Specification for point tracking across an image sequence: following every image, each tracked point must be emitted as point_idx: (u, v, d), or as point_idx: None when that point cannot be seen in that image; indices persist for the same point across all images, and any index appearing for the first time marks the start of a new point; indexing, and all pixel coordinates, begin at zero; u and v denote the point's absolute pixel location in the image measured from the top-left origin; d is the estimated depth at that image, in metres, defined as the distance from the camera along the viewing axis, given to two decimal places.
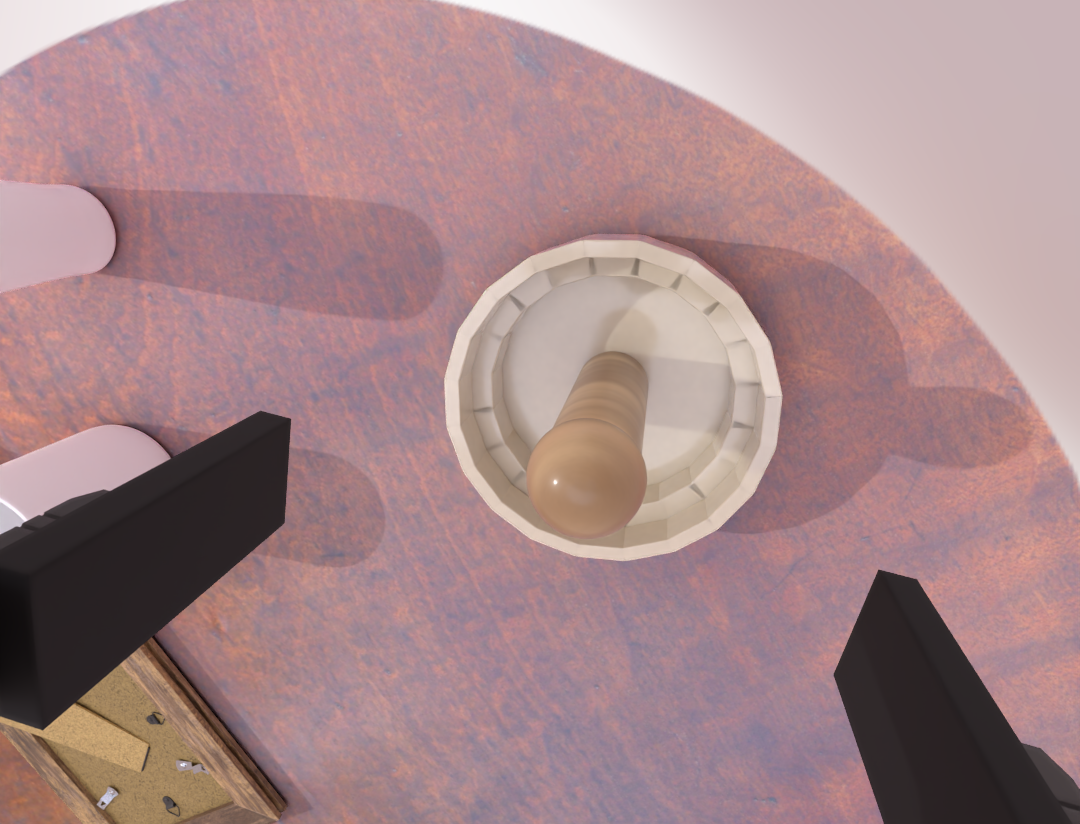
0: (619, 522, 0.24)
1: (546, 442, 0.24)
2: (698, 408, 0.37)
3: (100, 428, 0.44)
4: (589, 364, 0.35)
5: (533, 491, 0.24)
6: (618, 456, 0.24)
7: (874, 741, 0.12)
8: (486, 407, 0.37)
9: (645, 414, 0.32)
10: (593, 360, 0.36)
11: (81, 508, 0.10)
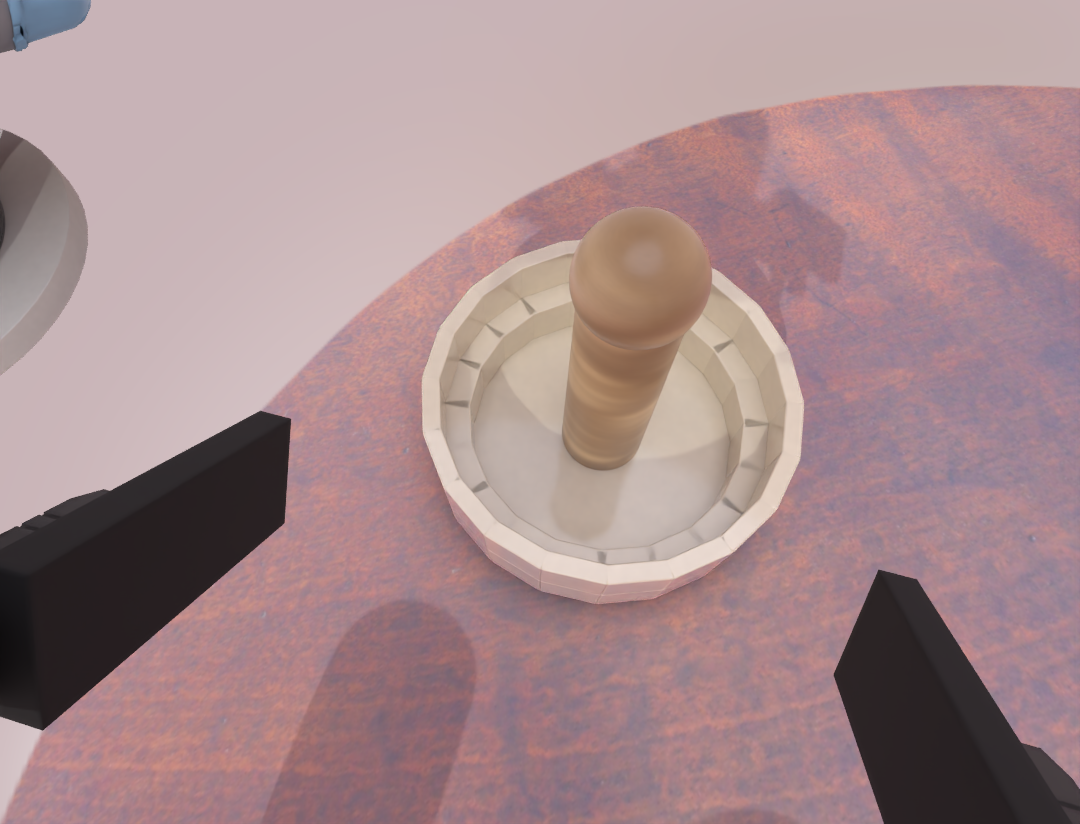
0: (684, 220, 0.21)
1: (583, 292, 0.21)
2: None
3: None
4: (566, 433, 0.32)
5: (638, 298, 0.20)
6: (606, 216, 0.21)
7: (874, 741, 0.12)
8: (598, 557, 0.28)
9: None
10: (564, 434, 0.32)
11: (81, 508, 0.10)
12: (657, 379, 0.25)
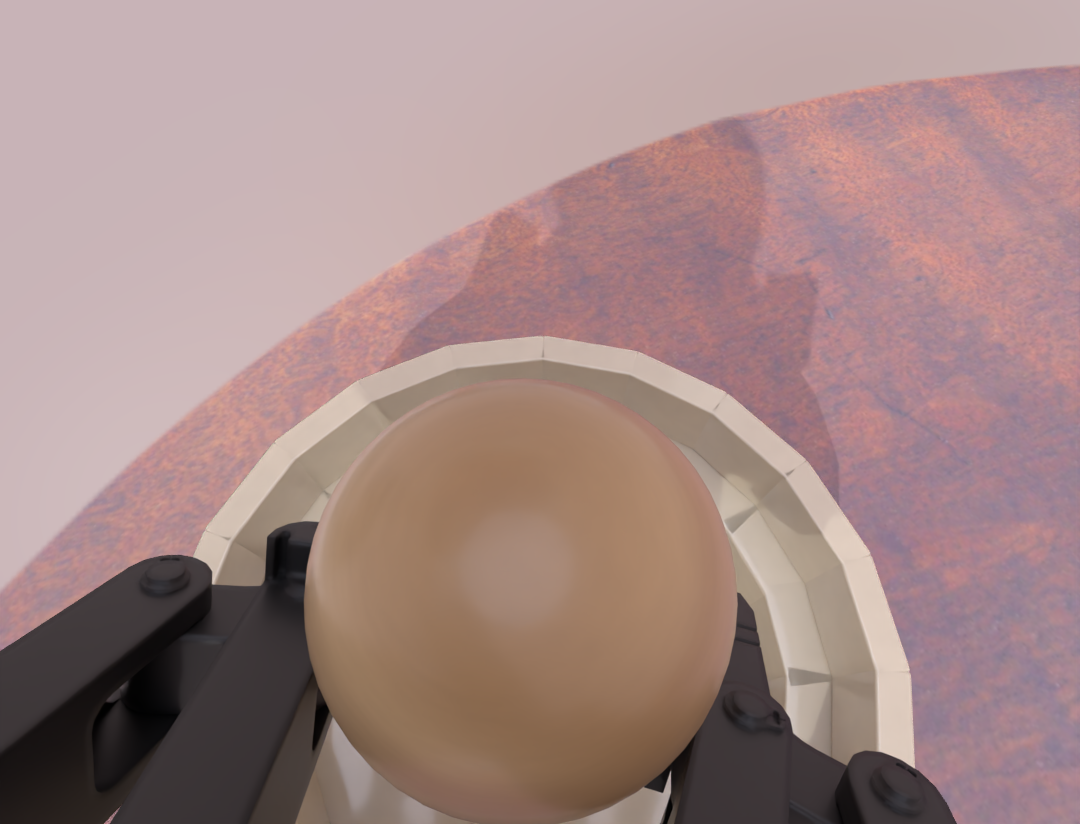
0: (645, 431, 0.07)
1: (320, 684, 0.06)
2: None
3: None
4: None
5: (479, 769, 0.05)
6: (407, 414, 0.07)
7: None
8: None
9: None
10: None
11: None
12: None
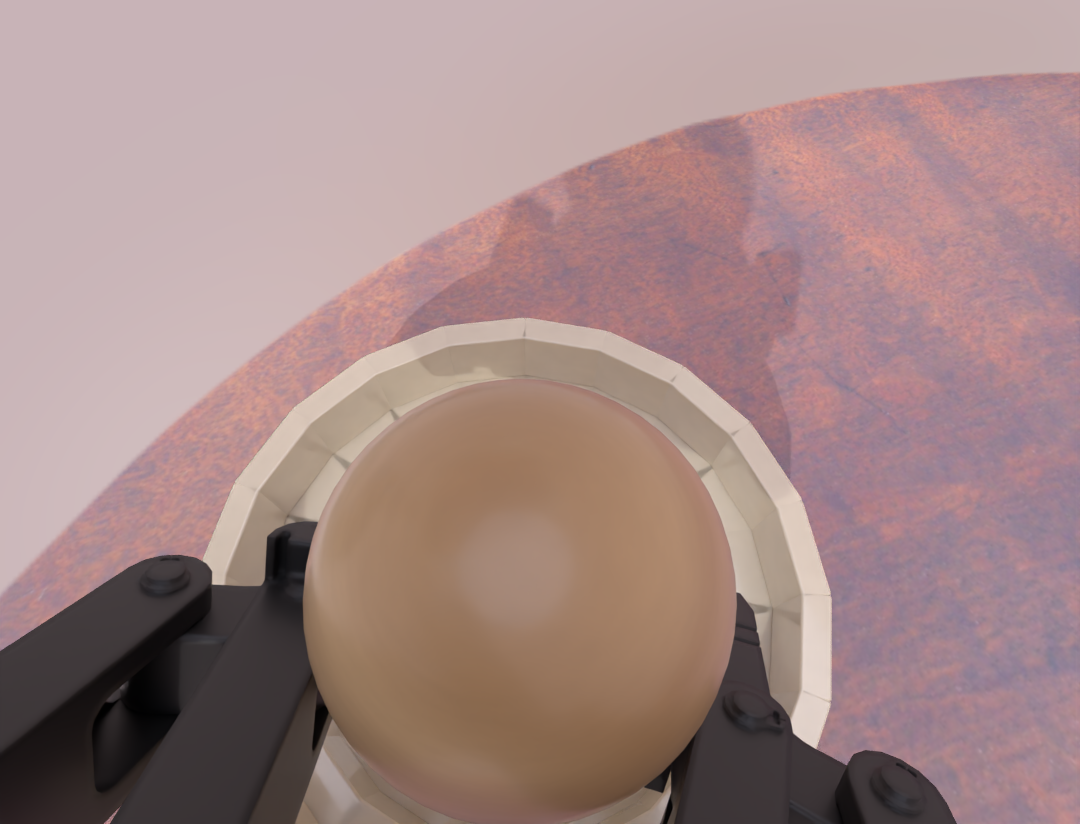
0: (644, 432, 0.07)
1: (319, 685, 0.06)
2: None
3: None
4: None
5: (477, 770, 0.05)
6: (406, 415, 0.07)
7: None
8: None
9: None
10: None
11: None
12: None
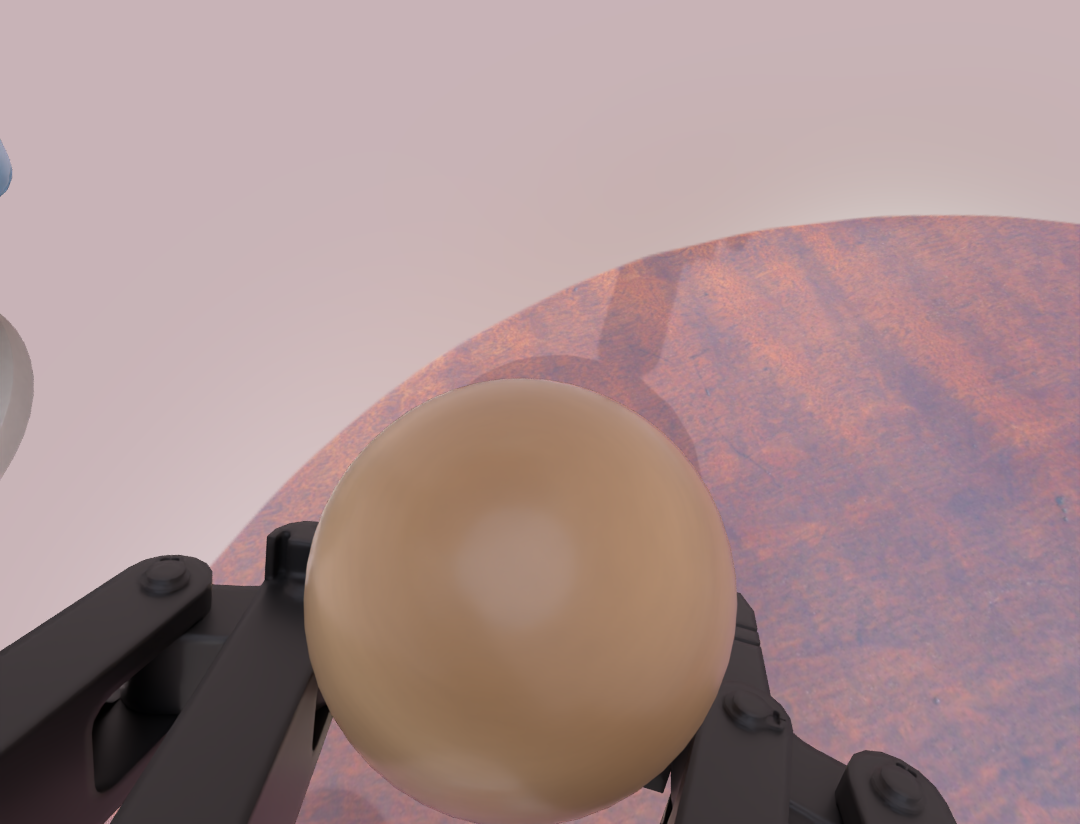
0: (645, 431, 0.07)
1: (319, 684, 0.06)
2: None
3: None
4: None
5: (478, 769, 0.05)
6: (406, 414, 0.07)
7: None
8: None
9: None
10: None
11: None
12: None
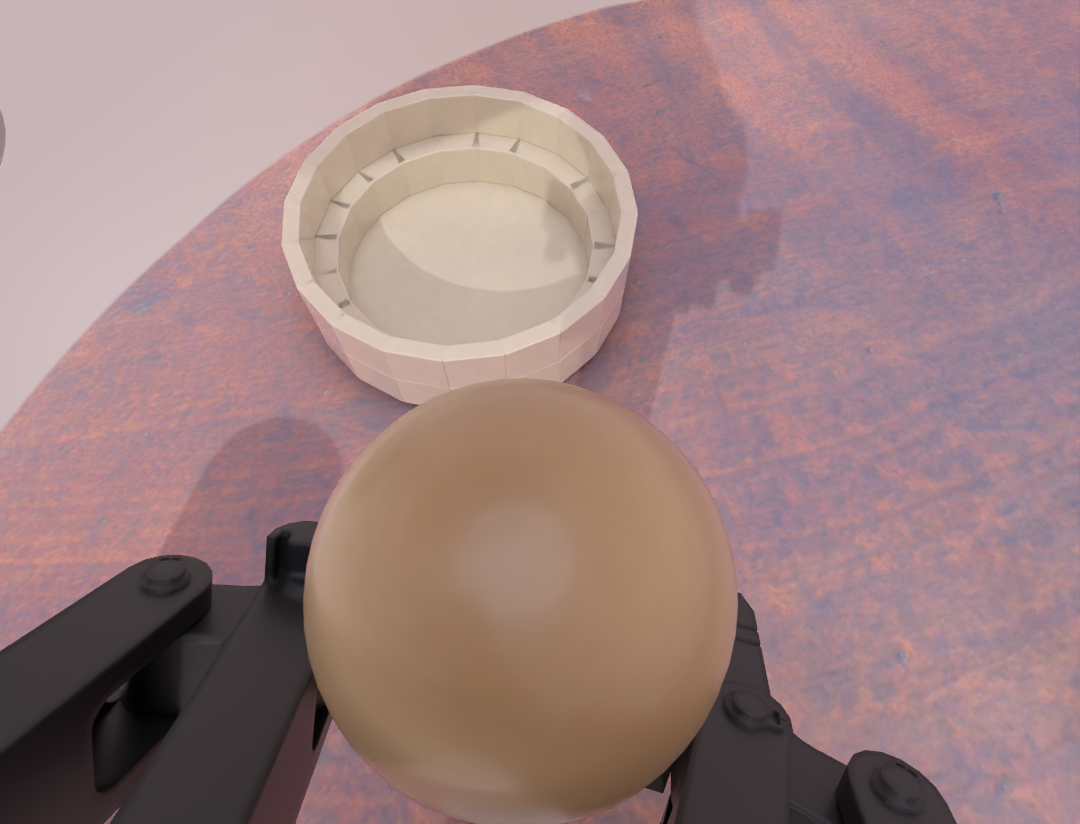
0: (644, 431, 0.07)
1: (319, 685, 0.06)
2: (508, 207, 0.38)
3: None
4: None
5: (478, 771, 0.05)
6: (406, 414, 0.07)
7: None
8: None
9: None
10: None
11: None
12: None
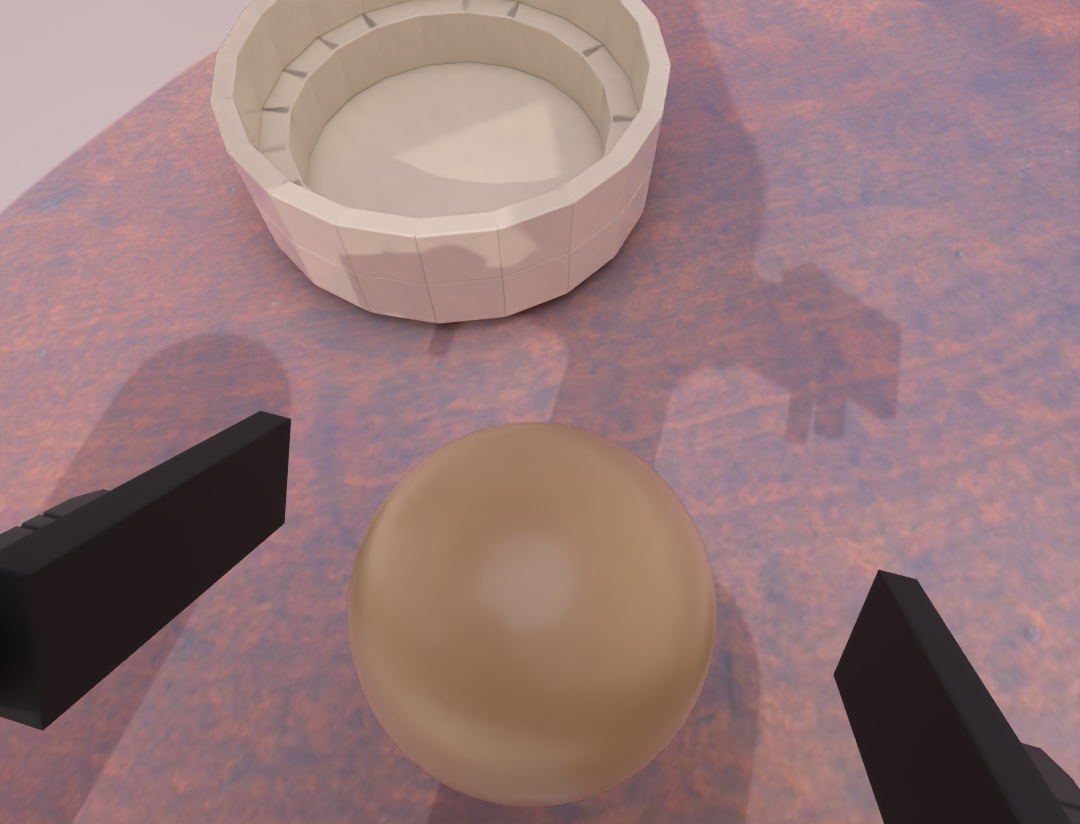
0: (638, 470, 0.08)
1: (363, 686, 0.07)
2: (505, 90, 0.31)
3: None
4: None
5: (499, 756, 0.06)
6: (434, 454, 0.08)
7: (873, 741, 0.12)
8: None
9: None
10: None
11: (81, 508, 0.10)
12: None
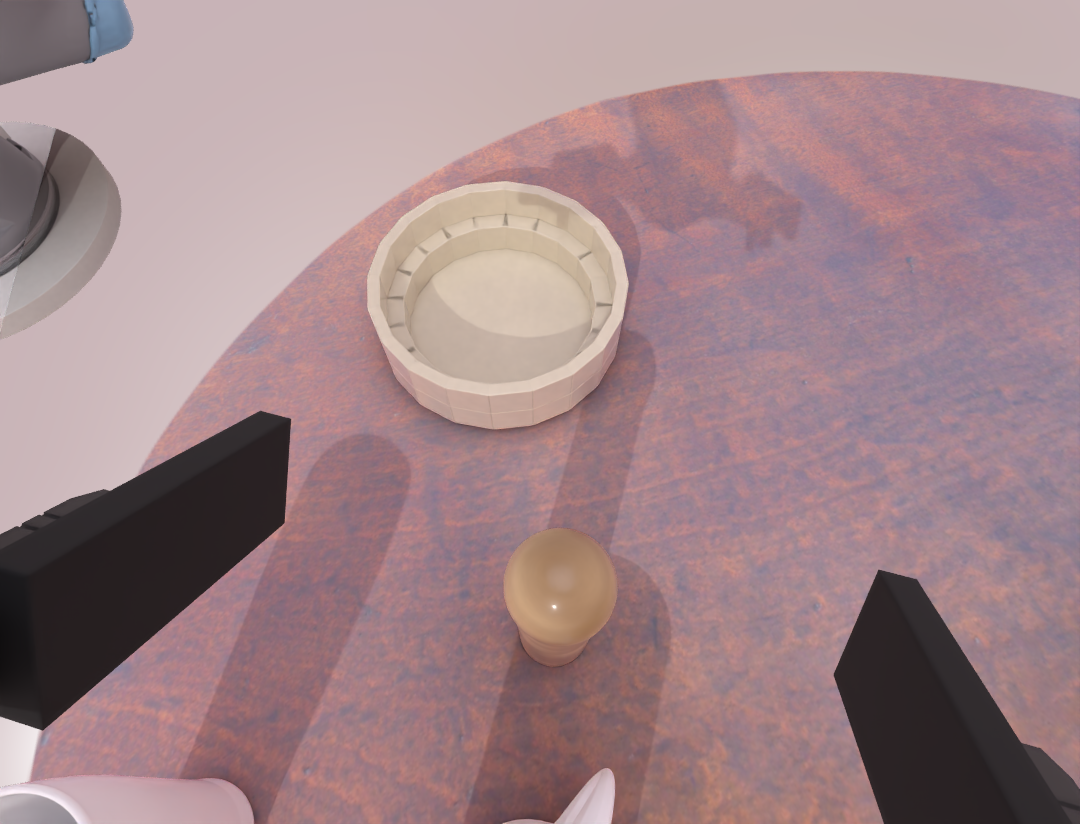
0: (592, 546, 0.26)
1: (512, 610, 0.26)
2: (529, 270, 0.49)
3: None
4: (521, 641, 0.36)
5: (554, 625, 0.25)
6: (530, 540, 0.26)
7: (873, 741, 0.12)
8: None
9: None
10: (520, 638, 0.37)
11: (81, 508, 0.10)
12: None
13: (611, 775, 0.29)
